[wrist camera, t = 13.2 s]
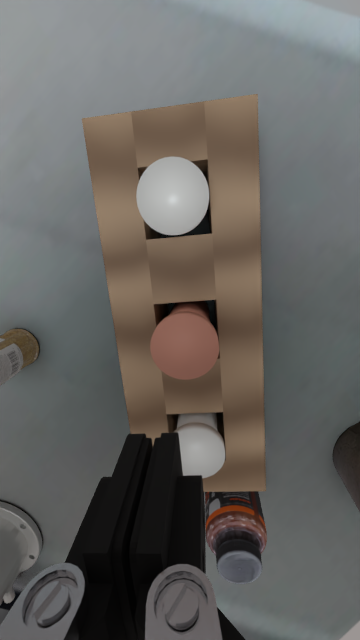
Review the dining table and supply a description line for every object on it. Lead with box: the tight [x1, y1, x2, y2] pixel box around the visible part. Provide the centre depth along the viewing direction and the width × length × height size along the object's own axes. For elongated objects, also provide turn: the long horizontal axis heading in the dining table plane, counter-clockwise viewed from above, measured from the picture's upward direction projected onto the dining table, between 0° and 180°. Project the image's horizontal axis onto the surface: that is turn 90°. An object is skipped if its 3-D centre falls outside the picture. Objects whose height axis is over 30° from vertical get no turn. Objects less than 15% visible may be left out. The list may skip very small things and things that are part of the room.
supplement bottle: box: [205, 491, 267, 584], centre depth 32 cm, size 6×6×11 cm
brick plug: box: [150, 301, 219, 380], centre depth 26 cm, size 5×5×10 cm
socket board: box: [82, 94, 266, 492], centre depth 28 cm, size 32×12×8 cm, turn 5°
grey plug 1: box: [136, 157, 209, 235], centre depth 24 cm, size 5×5×10 cm
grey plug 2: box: [174, 412, 225, 478], centre depth 30 cm, size 5×5×10 cm
